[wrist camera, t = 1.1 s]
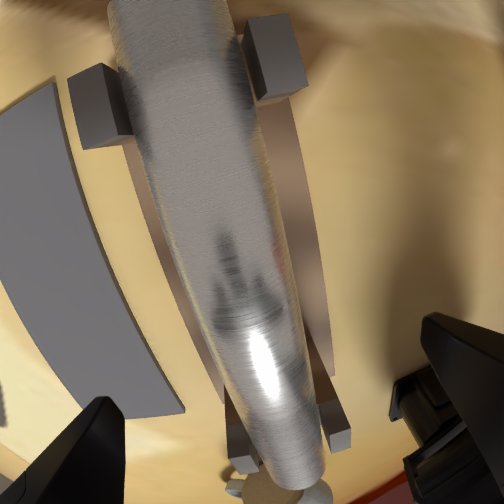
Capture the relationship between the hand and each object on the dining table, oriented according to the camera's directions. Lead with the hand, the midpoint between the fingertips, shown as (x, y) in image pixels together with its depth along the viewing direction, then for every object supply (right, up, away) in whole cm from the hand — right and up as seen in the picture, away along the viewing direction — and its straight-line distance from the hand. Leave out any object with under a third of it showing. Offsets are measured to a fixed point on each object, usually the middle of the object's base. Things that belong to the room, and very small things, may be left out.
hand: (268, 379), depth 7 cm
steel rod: (-1, +1, +3) cm, 4 cm away
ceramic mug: (+2, -21, +20) cm, 29 cm away
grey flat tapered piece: (-13, +1, +9) cm, 16 cm away
